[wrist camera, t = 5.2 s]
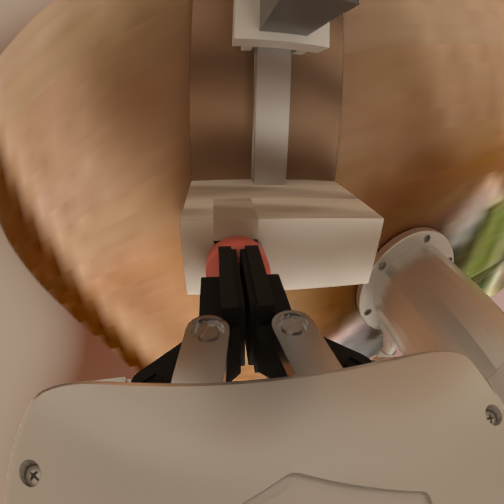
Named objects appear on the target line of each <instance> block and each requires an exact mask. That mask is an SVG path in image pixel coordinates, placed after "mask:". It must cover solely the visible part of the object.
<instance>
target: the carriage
mask: <svg viewBox="0 0 504 504" xmlns="http://www.w3.org/2000/svg"><path fill="white" fill-rule="evenodd" d="M357 5H359V0H234V5H233V31H232V46H241V51H251V49H252V48H253V47H266V48H279V49H289V50H292V54H297V55H302V54H304V53H306V52H313V53H319V52H321V51H323V50H326V49H328V48H329V43H330V21H331V20H333V19H335V18H336V17H338V16H340V15H341V14H343V13H345V12H347V11H348V10H350V9H352V8H354V7H355V6H357Z"/></svg>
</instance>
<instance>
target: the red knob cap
mask: <svg viewBox="0 0 504 504" xmlns="http://www.w3.org/2000/svg"><path fill="white" fill-rule="evenodd" d="M245 245H258V247H259V250H260V253H261V257H262V260H263V263H264V267H265V270H266V274H271V270H270V266H269V262H268V259H267V256H266V253H265V251H264V249H263V248H262V246H261V245H260V244H259V243H257V242H256V241H254V240H253V239H250V238H247V237H242V236H233V237H228V238H225V239H223V240H221V241H219V242H218V243H216V244H215V245H214V246H213V247H212V248H211V250H210V251H209V253H208V256H207V260H206V277H219V254H218V246H231V249H236V251H237V258H238V264H239V271H240V249H245Z"/></svg>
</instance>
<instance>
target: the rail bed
mask: <svg viewBox="0 0 504 504" xmlns="http://www.w3.org/2000/svg"><path fill="white" fill-rule="evenodd" d="M233 5H234V0H193V8H192V25H191V49H190V156H191V184H190V187H189V190H188V194H187V197H186V201H185V204H184V207H183V211H182V214H181V218H180V221H179V223H180V234H181V244H182V254H183V263H184V272H185V280H186V288H187V295H198V294H200V287H201V277H206V260H207V256H208V253H209V251H210V250H211V248H212V247H213V246H214V245H215V244H216V243H218V242H219V241H221V240H223V239H225V238H228V237H233V236H242V237H247V238H250V239H253V240H254V241H256V242H257V243H259V244H260V245H261V246H262V248H263V249H264V251H265V253H266V256H267V259H268V262H269V266H270V270H271V274H279V276H280V279H281V282H282V285H283V288H284V290H295V289H309V288H322V287H334V286H346V285H357V284H367V283H369V279H370V276H371V272H372V268H373V264H374V261H375V257H376V253H377V248H378V244H379V240H380V236H381V231H382V227H383V222H384V218H383V217H382V216H380V215H379V214H378V213H377V212H375V211H374V210H373V209H371V208H370V207H369V206H368V205H366V204H365V203H364V202H362V201H361V200H360V199H358V198H357V197H356V196H354V195H353V194H352V193H350V192H349V191H348V190H346V189H345V188H344V187H342V186H341V185H340V184H338V183H337V182H335V172H336V163H337V153H338V142H339V129H340V116H341V99H342V77H343V14H341V15H340V16H338V17H336V18H335V19H333V20H331V21H330V43H329V48H328V49H326V50H323V51H321V52H319V53H313V52H306V53H304V54H302V55H297V54H292V50H289V49H279V48H266V47H253V48H252V49H251V51H241V46H232V31H233Z"/></svg>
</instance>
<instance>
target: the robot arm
mask: <svg viewBox="0 0 504 504" xmlns="http://www.w3.org/2000/svg"><path fill="white" fill-rule="evenodd" d="M218 254H219V277H201V287H200V312H199V317H197V318H195V319H193V320H192V321H191V322H189V323H188V325H187V327H186V330H185V334H184V337H183V341H182V342H181V343H180V344H179V345H177V346H176V347H174V348H173V349H171V350H170V351H169V352H167V353H166V354H164V355H163V356H161V357H160V358H158V359H157V360H156V361H154V362H153V363H151V364H150V365H148V366H147V367H145V368H144V369H142V370H141V371H140V372H138V373H137V374H136V375H135V376H134V377H133V379H126V377H119V378H111V379H103V380H94V381H79V382H70V383H65V384H60V385H55V386H52V387H49V388H47V389H45V390H43V391H41V392H40V393H38V394H37V395H36V396H35V397H34V398H33V400H32V401H31V403H30V404H29V406H28V407H27V409H26V411H25V414H24V416H23V418H22V420H21V423H20V426H19V428H18V431H17V435H16V438H15V442H14V445H13V448H12V452H11V457H10V462H9V468H8V473H7V479H6V485H5V493H4V502H3V504H504V312H503V311H502V310H501V309H500V308H499V307H498V306H497V305H496V304H495V302H494V301H493V300H492V299H491V298H490V297H489V296H488V295H487V294H486V293H485V292H484V291H483V290H482V289H481V288H480V287H479V286H478V285H477V284H476V283H475V282H474V281H472V280H471V279H470V278H469V277H468V276H467V275H466V274H465V273H464V272H463V271H462V270H461V269H460V268H459V267H457V266H456V265H455V264H454V253H453V249H452V246H451V244H450V242H449V240H448V239H447V238H446V237H445V236H444V235H443V234H441V233H440V232H439V231H437V230H435V229H432V228H428V227H419V228H413V229H410V230H408V231H405V232H403V233H401V234H399V235H398V236H396V237H394V238H393V239H391V240H390V241H389V242H388V243H387V244H385V245H384V246H383V247H382V248H381V249H380V250H379V251H378V252H377V253H376V257H375V261H374V264H373V268H372V272H371V276H370V279H369V283H367V284H359V285H358V288H357V294H356V305H357V309H358V312H359V314H360V315H361V317H362V319H363V321H364V322H365V323H366V324H367V325H368V326H370V327H372V328H373V329H377V330H381V331H382V332H383V334H384V335H383V339H382V340H383V343H384V344H383V345H382V346H381V348H380V350H379V352H378V354H377V356H376V357H374V359H373V360H370V359H369V358H367V357H366V356H364V355H362V354H360V353H358V352H356V351H353V350H351V349H349V348H347V347H344V346H342V345H340V344H338V343H336V342H334V341H331V340H329V339H327V338H325V337H323V336H322V334H321V333H320V331H319V330H318V328H317V327H316V325H315V323H314V322H313V320H312V319H311V318H310V317H309V316H308V315H306V314H305V313H303V312H300V311H295V310H291V307H290V305H289V302H288V299H287V296H286V293H285V290H284V288H283V285H282V282H281V279H280V276H279V274H266V270H265V267H264V263H263V260H262V257H261V253H260V250H259V247H258V245H245V249H240V271H239V264H238V258H237V251H236V249H231V246H218ZM245 344H246V350H247V357H248V364H249V365H254V369H255V373H257V372H260V373H261V374H263V375H265V376H266V379H259V380H247V381H233V382H232V380H233V379H234V378H236V377H237V376H238V375H239V374H240V373H241V366H244V365H245ZM397 348H399V350H400V351H401V353H402V354H403V356H399V357H393V356H394V354H395V352H396V349H397Z"/></svg>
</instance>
